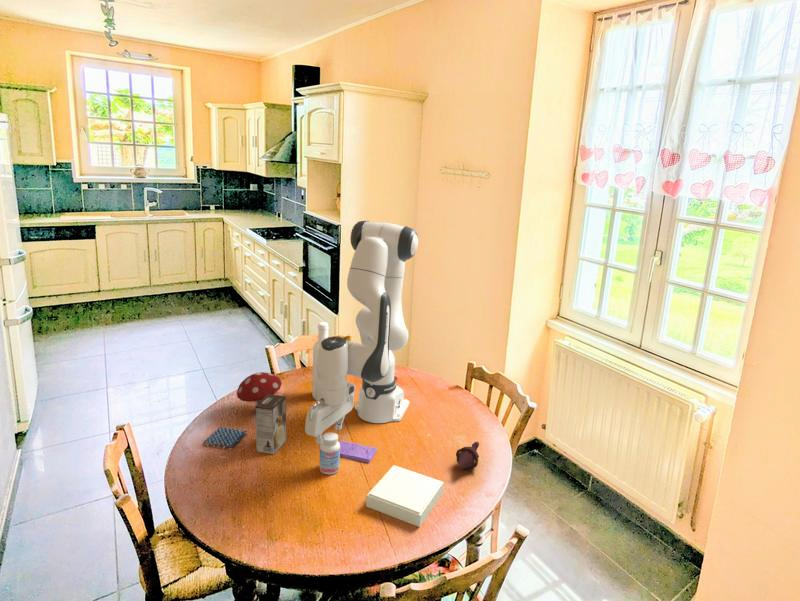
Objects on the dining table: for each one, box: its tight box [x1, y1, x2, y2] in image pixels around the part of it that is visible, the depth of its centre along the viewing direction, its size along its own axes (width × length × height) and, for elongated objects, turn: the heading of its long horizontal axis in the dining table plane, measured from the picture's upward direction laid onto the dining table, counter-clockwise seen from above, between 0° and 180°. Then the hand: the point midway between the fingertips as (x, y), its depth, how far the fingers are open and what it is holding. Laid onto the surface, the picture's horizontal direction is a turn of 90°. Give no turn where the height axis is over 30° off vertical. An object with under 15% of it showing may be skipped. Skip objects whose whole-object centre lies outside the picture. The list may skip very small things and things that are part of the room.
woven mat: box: [202, 426, 248, 451], centre depth 166 cm, size 10×11×2 cm
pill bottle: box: [319, 431, 341, 475], centre depth 152 cm, size 6×6×11 cm
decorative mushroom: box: [236, 371, 283, 406], centre depth 182 cm, size 16×16×15 cm
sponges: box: [339, 440, 378, 464], centre depth 162 cm, size 7×13×2 cm, turn 73°
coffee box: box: [254, 394, 287, 455], centre depth 162 cm, size 9×6×16 cm
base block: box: [365, 464, 445, 528], centre depth 141 cm, size 16×16×4 cm
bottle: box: [311, 321, 329, 400], centre depth 194 cm, size 8×8×30 cm
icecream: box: [455, 441, 480, 471], centre depth 157 cm, size 7×7×15 cm
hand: (329, 435), depth 150 cm, fingers open, 8 cm apart
